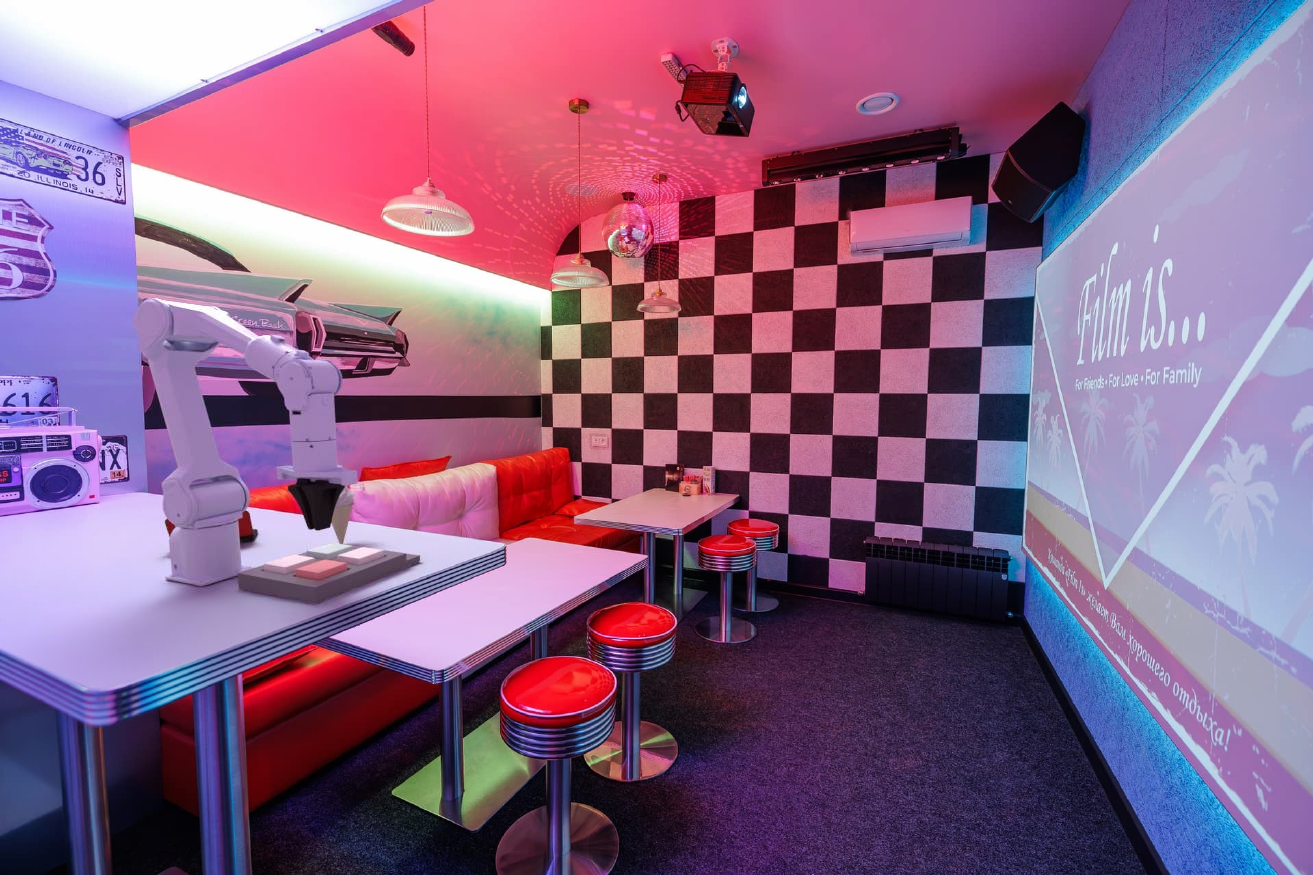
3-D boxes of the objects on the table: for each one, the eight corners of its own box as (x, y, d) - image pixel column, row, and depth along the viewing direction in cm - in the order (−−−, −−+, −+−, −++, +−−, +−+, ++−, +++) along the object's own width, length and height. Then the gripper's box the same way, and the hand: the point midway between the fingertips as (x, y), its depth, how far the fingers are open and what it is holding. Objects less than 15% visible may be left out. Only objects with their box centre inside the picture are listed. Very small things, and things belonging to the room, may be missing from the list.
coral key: (295, 576, 81) (295, 569, 81) (325, 566, 85) (324, 559, 85) (318, 580, 79) (318, 572, 79) (347, 570, 84) (347, 562, 84)
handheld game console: (259, 533, 113) (256, 499, 113) (251, 546, 104) (249, 509, 103) (181, 542, 107) (178, 505, 106) (166, 557, 98) (163, 517, 97)
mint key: (307, 557, 90) (306, 550, 90) (333, 549, 94) (332, 542, 94) (327, 560, 88) (327, 553, 88) (353, 552, 93) (353, 545, 93)
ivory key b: (337, 562, 87) (337, 555, 87) (362, 553, 92) (362, 547, 92) (359, 565, 86) (359, 558, 86) (384, 556, 90) (383, 550, 90)
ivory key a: (264, 571, 83) (263, 563, 83) (294, 561, 88) (294, 554, 88) (285, 574, 82) (285, 567, 81) (315, 565, 86) (314, 557, 86)
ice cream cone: (346, 548, 102) (342, 471, 101) (320, 548, 102) (315, 471, 101) (361, 540, 107) (357, 467, 106) (336, 540, 107) (332, 467, 106)
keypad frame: (238, 588, 82) (237, 572, 82) (350, 551, 100) (350, 538, 100) (316, 604, 76) (314, 587, 76) (420, 562, 95) (419, 548, 94)
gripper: (372, 439, 81) (377, 526, 83) (305, 435, 86) (310, 518, 88) (330, 444, 75) (335, 538, 76) (260, 440, 80) (266, 528, 81)
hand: (319, 528), depth 82 cm, fingers closed
